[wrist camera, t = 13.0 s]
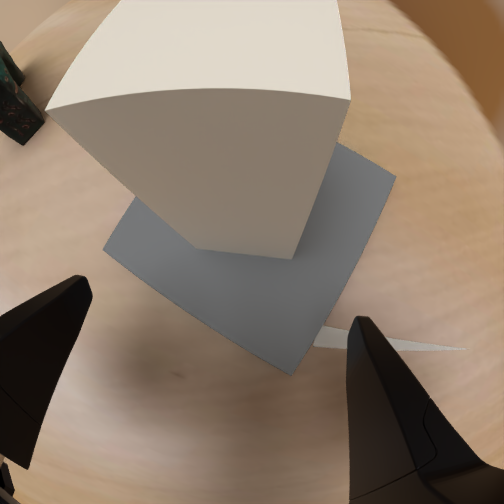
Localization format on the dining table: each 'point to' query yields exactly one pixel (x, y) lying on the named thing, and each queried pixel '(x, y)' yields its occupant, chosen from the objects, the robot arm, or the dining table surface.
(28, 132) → the patterned animal figurine
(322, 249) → the slate mat
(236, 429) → the dining table surface
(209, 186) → the tall block
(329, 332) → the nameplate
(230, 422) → the dining table surface
